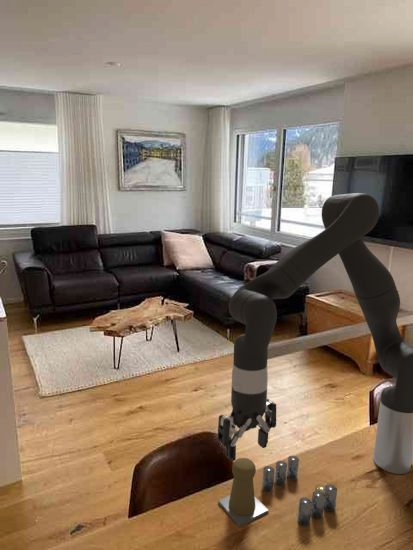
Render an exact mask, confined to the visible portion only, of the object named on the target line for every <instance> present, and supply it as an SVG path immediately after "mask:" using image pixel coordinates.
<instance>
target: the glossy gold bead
mask: <svg viewBox="0 0 413 550" xmlns="http://www.w3.org/2000/svg"><path fill="white" fill-rule="evenodd" d="M326 485H327V484H324V483H317V484H316V485H315V490H314V491H321V492H322V493H324V495H325V486H326Z"/></svg>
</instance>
